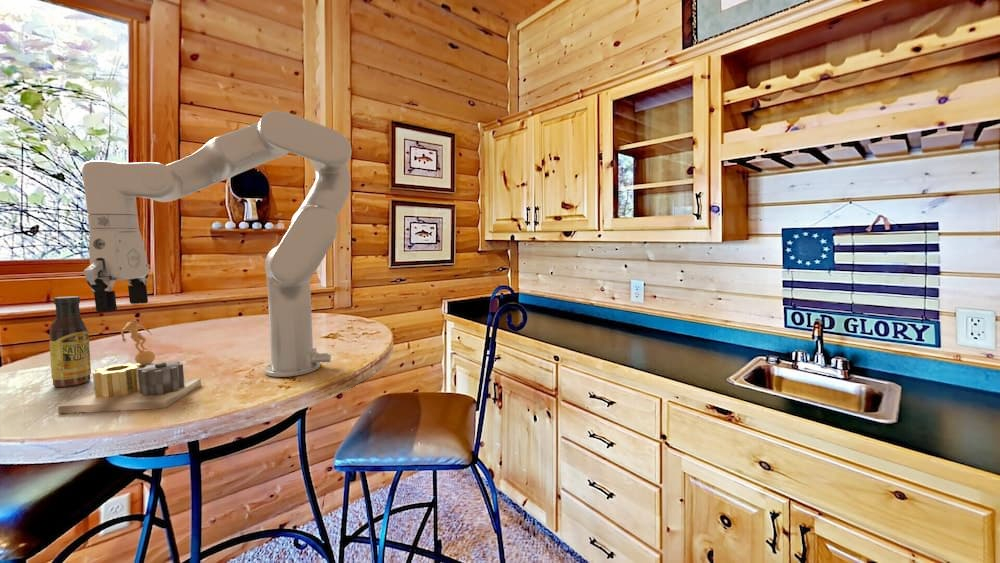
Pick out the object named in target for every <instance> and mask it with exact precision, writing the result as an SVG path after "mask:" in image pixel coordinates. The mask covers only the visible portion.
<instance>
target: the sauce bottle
mask: <svg viewBox="0 0 1000 563" xmlns="http://www.w3.org/2000/svg"><path fill="white" fill-rule="evenodd" d="M80 303H81V300H80V296H78V295H76V296H74V295H73V296H71V295H70V296H57V297H54V298H53V304H54V305H55V313H56V314H55V320H54V321H53V322H52V323H51V325H50V328H49V341H48V342H49V354H50V372H51V373H50V374H51V380H52V386H53V387H56V388H67V387H73V386H78V385H82V384H85V383H88V382H90V380H91V374H92V368H91V353H90V334H89V330H88V328H87V326H86V324H85V322H84V320H83V319H82V317H81V312H80Z"/></svg>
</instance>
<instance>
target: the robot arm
mask: <svg viewBox="0 0 1000 563" xmlns="http://www.w3.org/2000/svg"><path fill="white" fill-rule="evenodd" d="M352 152H353V151H352V146H351V143H350V141H349V140H348V138H347V137H345V135H344V134H342V133H341V132H339V131H337V130H336V129H333V128H329V127H328V126H324V125H322V124H320V123H317V122H314V121H311V120H308V119H305V117H304V118H303V117H301V116H298V115H295V114H294V113H293V114H292V113H289V112H286V111H282V110H271V111H268V112H265V113H264V114H263V115H262V117H260V119H259V121H258V122H255V123H252V124H249V125H247V126H244V127H240V128H239V129H235V130H233V131H230V132H227V133H224V134H222V135H218V136H215V137H213V138H212V139H210V140H208V141H207V142H206V143H205V144H204V145H203V146H201V148H199V149H198V150H197V151H195V152H194V153H192V154H189V155H188V156H185V157H183V158H181V159H178V160H175V161H173V162H171V163H168V164H163V163H160V162H153V161H152V162H151V161H148V162H146V161H145V162H124V163H122V162H118V161H110V160H89V161H85V162H84V163H83V165H82V168H81V169H82V170H81V171H82V172H81V173H82V179H83V180H82V181H83V187H84V196H85V205H86V214H87V220H88V221H87V222H88V229H89V243H88V244H89V248H88V250H89V251H88V253H89V255H88V256H89V266H87V267H86V268H85V269H84V270H83V272H82V273H83V275H84V277H85V279H86V281H87V285H88V286H89V287H91V288H90V290H91V292H92V293H93V294H94V296H93V297H94V304H95V310H96V312H97V313H104V312H116V311H118V308H117V307H118V306H117V300H116V298H117V297H116V291H115V290H113V288H114V285H115V283H116V281H117V280H118V281H127V282H128V283H129V284H130V285H127V289H128V297H129V299H128V300H129V303H130V304H132V305H136V304H148V302H149V299H148V297H149V296H148V288H147V284H148V282H149V281H148V278H149V272H150V271H149V269H150V264H149V263H148V257H147V253H146V247H145V243H144V240H143V236H142V234H141V231H140V226H139V224H140V222H139V216H138V208H137V207H138V206H137V205H138V204H137V198H144V199H149V200H153V201H155V202H159V203H169V202H174V201H177V200H179V199H181V198H184V197H187V196H189V195H192V194H194V193H196V192H199V191H201V190H202V191H203V189H206V188H209V187H211V186H212V185H215V184H218V183H220V182H223V181H224V180H225V181H226V180H229V179H231V178H233V177H235V176H237V175H239V174H241V173H244V172H247V171H249V170H251V169H254V168H256V167H259V166H261V165H263V164H266V163H268V162H272V161H274V160H277V159H279V158H282V157H284V156H286V155H288V154H290V153H291V154H292V155H293V154H294V155H296V156H299V157H302V158H305V159H307V160H309V161H310V164H311V165H312V167H313V169H314V171H315V181H314V183H313V185H312V186H311V188H310V190H309V191H308V193H307V196H306V197H305V199H304V200H303V201H302V204H301V205H300V207H299V208H298V210H296V211H295V213H294V214H293V216H292V217H291V220H290V226H289V228H288V230H286V232H285V234H284V236H283V237H282V239H281V241H280V243H279V244H278V245H277V246H275V247H273V248H272V249H271V250H270V251H269V252H268V254H267V256H266V258H265V264H264V266H265V269H264V270H265V277H266V288H267V302H268V322H269V325H268V326H269V340H270V356H271V357H270V359H271V363H269V364H267V365H266V366H265V367H264V373H265V375H267V376H269V377H275V378H287V377H289V378H290V377H296V376H302V375H307V374H310V373H312V372H315V371H316V370H318V369H319V368H320V367H321V363H331V361H332V355H331V354H329V353H328V352H323V353H322V352H321V353H319V352H317V348H316V347H315V348H314V343H313V342H314V340H313V339H314V338H313V319H312V296H311V293H312V292H311V284H310V279H312V277H313V276H314V274H315V273H316V271H317V270H318V268H319V267H320V265H321V263H322V261H323V259H324V258H325V257H326V255H327V253H328V252H329V249H330V248H331V246H332V245H333V243H334V240H336V237H337V235H338V230H339V222H338V219H337V218H338V217H339V215H340V214H341V211H342V210H343V207H344V206H345V203H346V202H347V201H348V198H349V195H350V192H351V185H352V182H351V181H352V180H351V175H350V174H351V173H350V170H349V168H348V165H347V164H348V163H349V161H350V159H351V157H352Z"/></svg>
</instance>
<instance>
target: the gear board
mask: <svg viewBox="0 0 1000 563" xmlns="http://www.w3.org/2000/svg"><path fill="white" fill-rule="evenodd" d="M184 374H185V373H184V363H180V361H171V362H167V361H161V362H157V363H153V364H148V365H144V367H141V369H138V378H139V389H140V391H138V392H133V393H130V394H128V395H126V396H122V397H121V396H117V397H111V398H107V399H103V397H98V398H96V397H95V391H94V389H93V390H91V391H88V392H86V393H84V394H82V395H80V396H78V397H75V398H73V399H72V400H71V399H70V400H69V401H67V402H64V403H62V404H61V405H57V411H58V414H59V415H61V414H60V413H68V414H80V413H79V412H85V413H96V412H97V413H100V412H101V411H102V412H116V411H117V412H118V410H121V411H132V410H133V411H134V410H139V411H140V410H148V409H149V410H152V409H153V410H156V409H167V408H168V407H169V406H171V405H172V404H174V403H175V402H178V400H181V399H182V398H183V397H185V396H186V395H188V394H189V393H191V392H193V391H194V390H196V389H197V388H199V387H200V386H202V380H201V378H185V377H184V376H185V375H184ZM72 412H73V413H72ZM74 412H76V413H74Z"/></svg>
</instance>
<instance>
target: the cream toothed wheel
mask: <svg viewBox="0 0 1000 563" xmlns="http://www.w3.org/2000/svg"><path fill="white" fill-rule="evenodd" d="M141 368H142V365H141V364H138V363H133V362H126V363H122V364H111V365H108V366H106V367H102V368H100V367H99V368H97V369H95V371H93V372H92V380H93V390H94V391H95V397H96V398H98V397H103V399H107V398H111V397H117V396H121V397H122V396H126V395H128V394H130V393H133V392H138V391H140V389H139V378H138V369H141Z"/></svg>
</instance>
